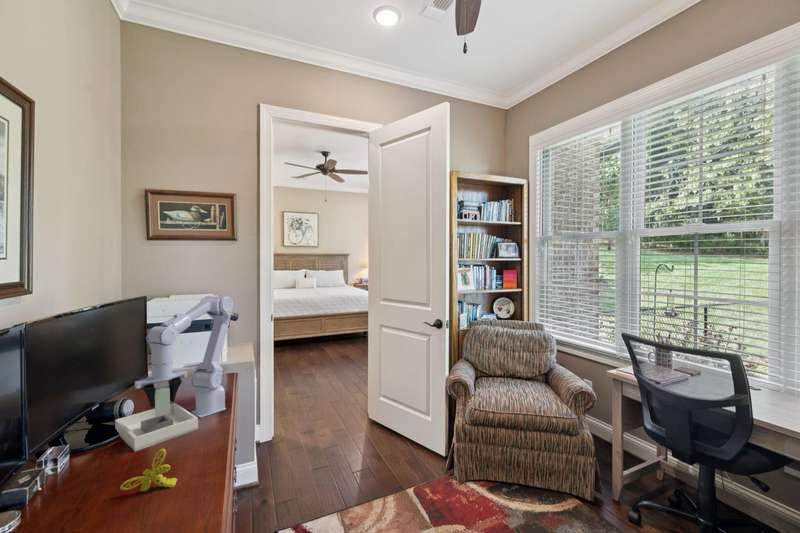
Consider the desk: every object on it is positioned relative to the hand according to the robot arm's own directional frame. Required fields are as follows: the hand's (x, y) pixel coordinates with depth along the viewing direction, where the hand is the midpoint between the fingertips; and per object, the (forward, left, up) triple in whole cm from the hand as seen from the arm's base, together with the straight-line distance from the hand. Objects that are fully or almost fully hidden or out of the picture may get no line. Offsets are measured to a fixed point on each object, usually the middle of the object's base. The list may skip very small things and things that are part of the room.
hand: (162, 403), depth 117 cm
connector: (0, 0, -3) cm, 3 cm away
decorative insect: (+12, +29, -11) cm, 33 cm away
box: (0, -5, -10) cm, 12 cm away
